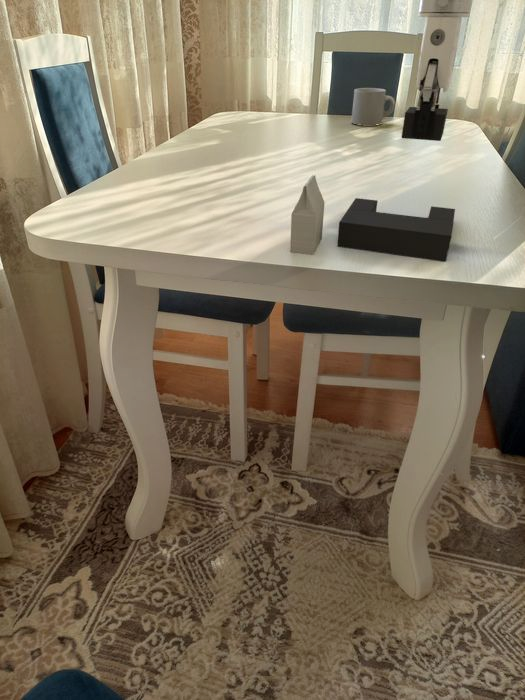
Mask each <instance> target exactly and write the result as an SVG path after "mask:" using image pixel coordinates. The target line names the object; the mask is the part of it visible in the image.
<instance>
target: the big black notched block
mask: <svg viewBox="0 0 525 700" xmlns="http://www.w3.org/2000/svg"><path fill="white" fill-rule="evenodd" d="M377 206H378V200H377V199H368V198H359V197H355V198H354V200H353V201H352V203H351V205H349V208H348V209H347V210H346V212H344V214H343V216H342V217H341V219H340V220H339V223H338V231H337V233H338V234H337V242H336V243H337V244H336V247H338V248H345V249H346V248H347V249H352V250H353V249H354V250H359V251H368V252H375V253H382V254H390V255H394V256H395V255H396V256H403V257H410V258H418V259H424V260H431V261H439V262H447V258H448V254H449V249H450V245H451V240H452V234H453V230H454V229H453V228H454V222H455V213H456V208H450V207H442V206H441V207H440V206H430V210H429V213H428V216H427V217H422V216H414V215H406V214H397V213H387V212H379V211H377Z"/></svg>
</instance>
